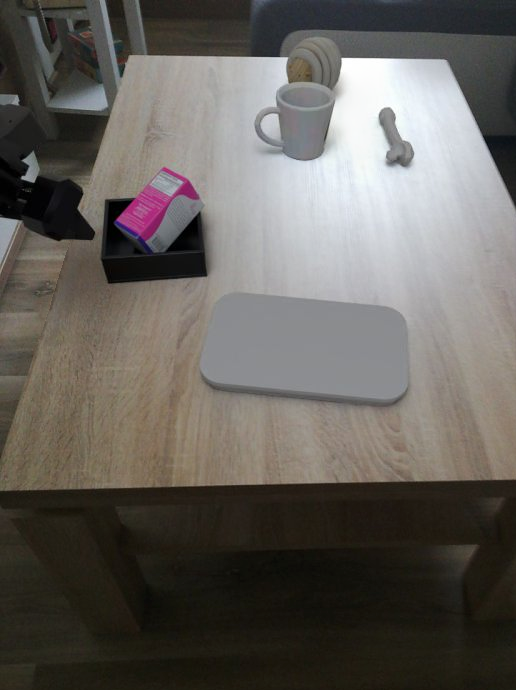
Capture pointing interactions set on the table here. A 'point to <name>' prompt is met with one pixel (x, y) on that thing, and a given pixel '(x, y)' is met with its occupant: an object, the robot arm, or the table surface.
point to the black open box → (137, 266)
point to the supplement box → (160, 212)
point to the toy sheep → (315, 62)
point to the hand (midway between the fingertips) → (67, 227)
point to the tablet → (306, 349)
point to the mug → (300, 119)
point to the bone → (395, 139)
